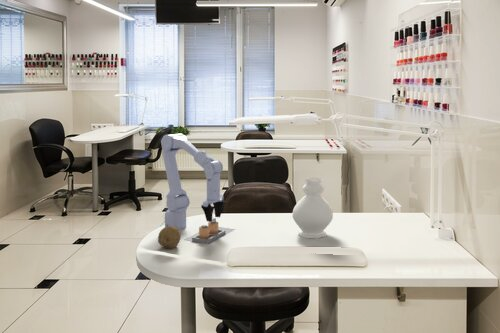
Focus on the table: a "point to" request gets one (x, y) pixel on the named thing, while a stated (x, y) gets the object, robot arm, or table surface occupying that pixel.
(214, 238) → the housing
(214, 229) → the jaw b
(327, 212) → the decorative vase
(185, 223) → the robot arm
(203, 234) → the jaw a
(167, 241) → the natural sponge
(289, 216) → the table surface
